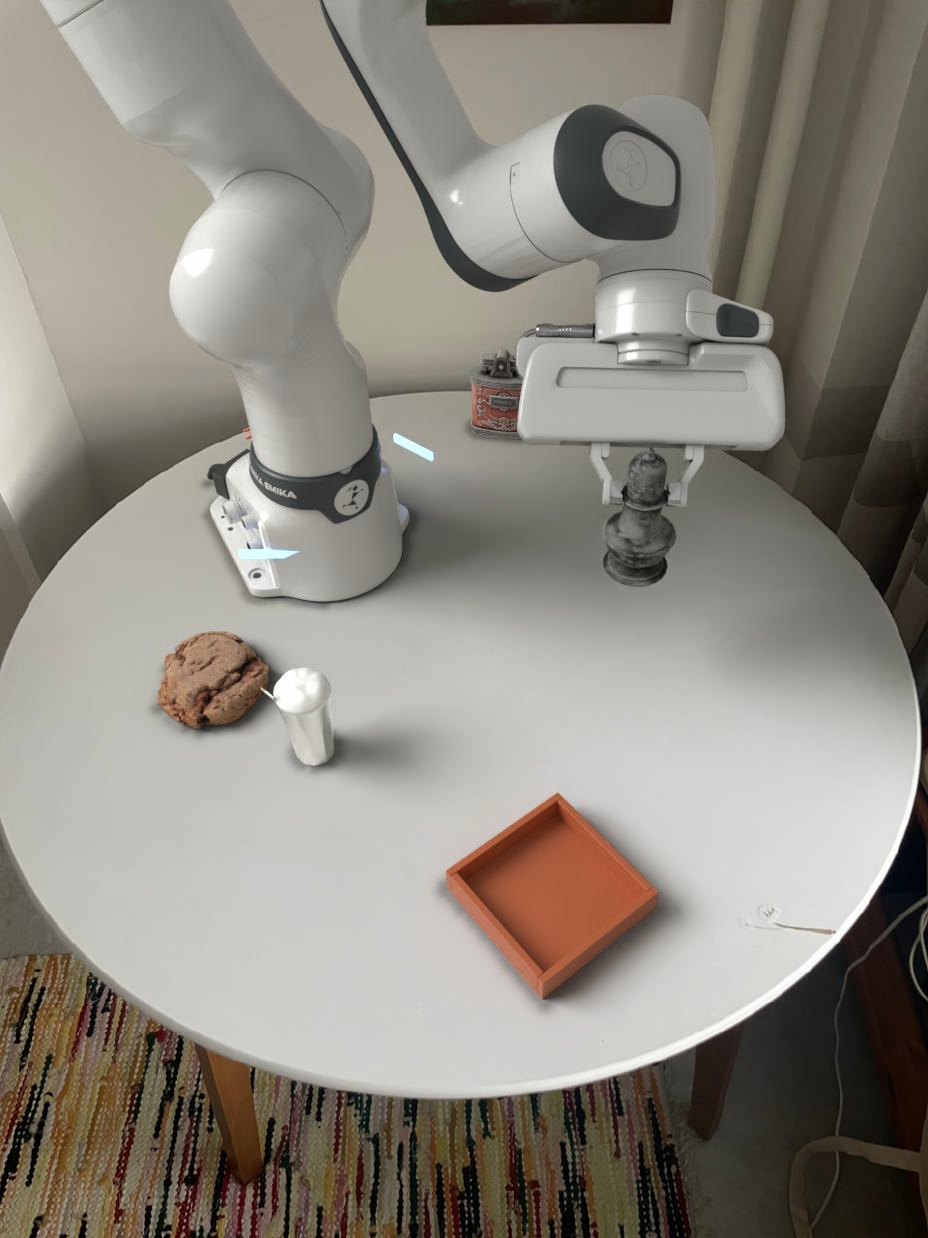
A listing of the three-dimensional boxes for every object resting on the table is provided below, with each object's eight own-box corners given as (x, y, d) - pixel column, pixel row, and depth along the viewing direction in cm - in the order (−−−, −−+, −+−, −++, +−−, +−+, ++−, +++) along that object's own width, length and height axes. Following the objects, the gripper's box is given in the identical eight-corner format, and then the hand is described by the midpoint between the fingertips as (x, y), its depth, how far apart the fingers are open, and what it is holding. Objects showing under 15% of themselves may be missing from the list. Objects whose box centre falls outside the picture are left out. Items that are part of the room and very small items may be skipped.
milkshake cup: (273, 743, 89) (252, 667, 81) (332, 722, 90) (317, 646, 83) (288, 783, 86) (268, 708, 78) (349, 761, 87) (335, 685, 80)
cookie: (242, 628, 98) (236, 606, 96) (286, 702, 92) (281, 680, 89) (141, 669, 95) (133, 647, 93) (180, 749, 88) (171, 727, 86)
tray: (446, 887, 79) (445, 870, 77) (556, 809, 83) (557, 791, 81) (542, 999, 72) (543, 984, 71) (655, 908, 77) (659, 892, 75)
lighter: (468, 435, 118) (466, 359, 111) (473, 418, 120) (471, 342, 113) (538, 441, 117) (541, 364, 110) (541, 423, 119) (544, 347, 112)
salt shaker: (668, 593, 82) (689, 475, 74) (595, 584, 83) (607, 467, 75) (672, 544, 86) (692, 427, 78) (603, 536, 87) (614, 419, 79)
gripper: (516, 311, 77) (509, 497, 77) (795, 317, 75) (786, 506, 76) (517, 332, 83) (511, 504, 83) (775, 338, 81) (767, 512, 82)
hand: (644, 505), depth 79 cm, fingers closed on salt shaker, 3 cm apart
